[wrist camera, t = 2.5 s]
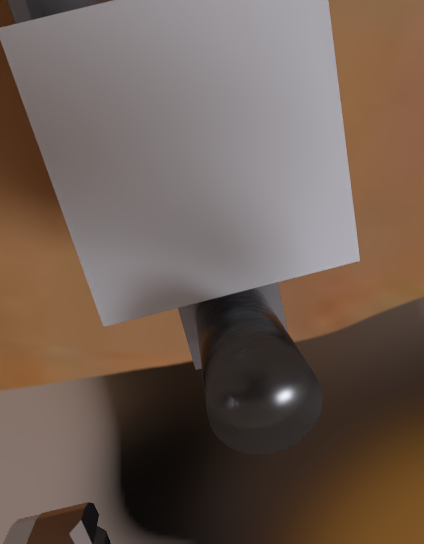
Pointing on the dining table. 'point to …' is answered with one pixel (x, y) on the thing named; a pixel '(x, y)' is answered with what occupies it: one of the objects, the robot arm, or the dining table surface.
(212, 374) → the shaft
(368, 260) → the dining table surface
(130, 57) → the block
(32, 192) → the dining table surface
